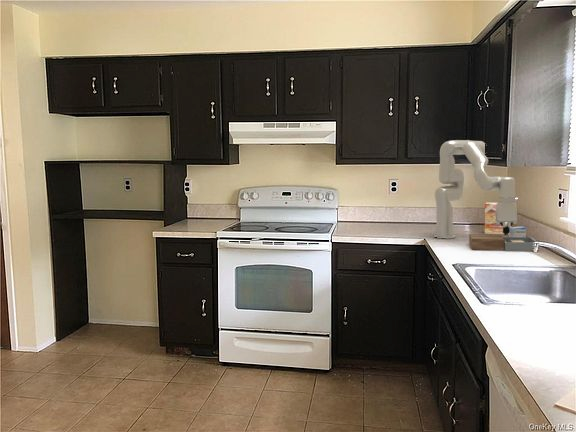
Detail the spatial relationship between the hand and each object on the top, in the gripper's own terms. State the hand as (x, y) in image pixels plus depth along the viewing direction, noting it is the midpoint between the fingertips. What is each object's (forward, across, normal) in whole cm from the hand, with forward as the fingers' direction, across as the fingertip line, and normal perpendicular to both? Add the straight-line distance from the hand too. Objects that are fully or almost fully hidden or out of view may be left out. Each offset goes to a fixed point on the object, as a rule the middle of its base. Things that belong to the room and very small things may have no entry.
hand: (506, 234), depth 265 cm
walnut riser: (+7, +10, 0) cm, 12 cm away
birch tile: (+3, -5, +1) cm, 6 cm away
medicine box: (+8, -9, -19) cm, 22 cm away
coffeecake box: (+8, -3, -50) cm, 51 cm away
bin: (+7, -6, 0) cm, 10 cm away
